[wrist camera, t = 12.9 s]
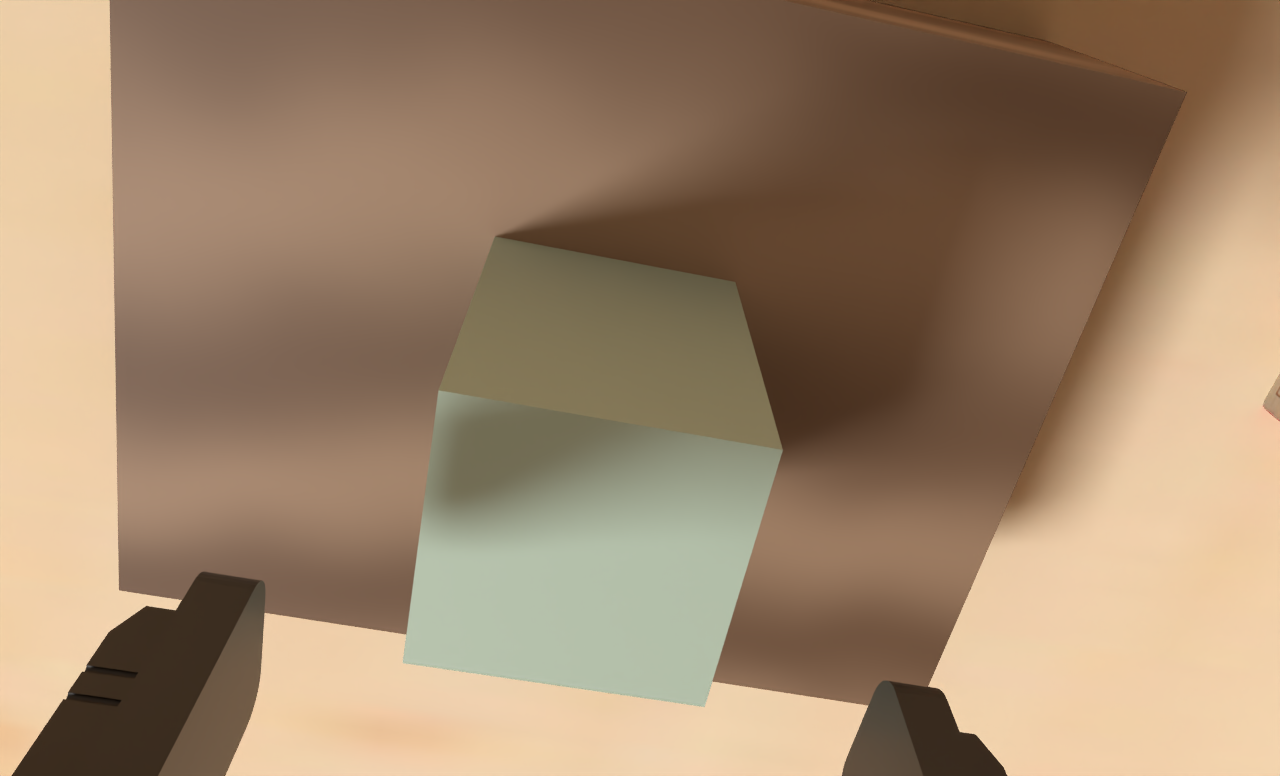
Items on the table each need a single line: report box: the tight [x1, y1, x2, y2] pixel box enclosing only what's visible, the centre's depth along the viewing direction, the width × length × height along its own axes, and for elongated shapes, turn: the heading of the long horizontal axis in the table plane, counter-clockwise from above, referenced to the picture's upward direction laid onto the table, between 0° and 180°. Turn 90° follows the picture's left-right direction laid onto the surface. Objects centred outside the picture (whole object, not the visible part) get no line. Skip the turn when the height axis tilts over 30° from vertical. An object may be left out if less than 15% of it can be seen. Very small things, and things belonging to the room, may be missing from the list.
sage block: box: [403, 237, 783, 707], centre depth 19 cm, size 5×5×7 cm
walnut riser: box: [110, 0, 1187, 705], centre depth 25 cm, size 16×20×7 cm
